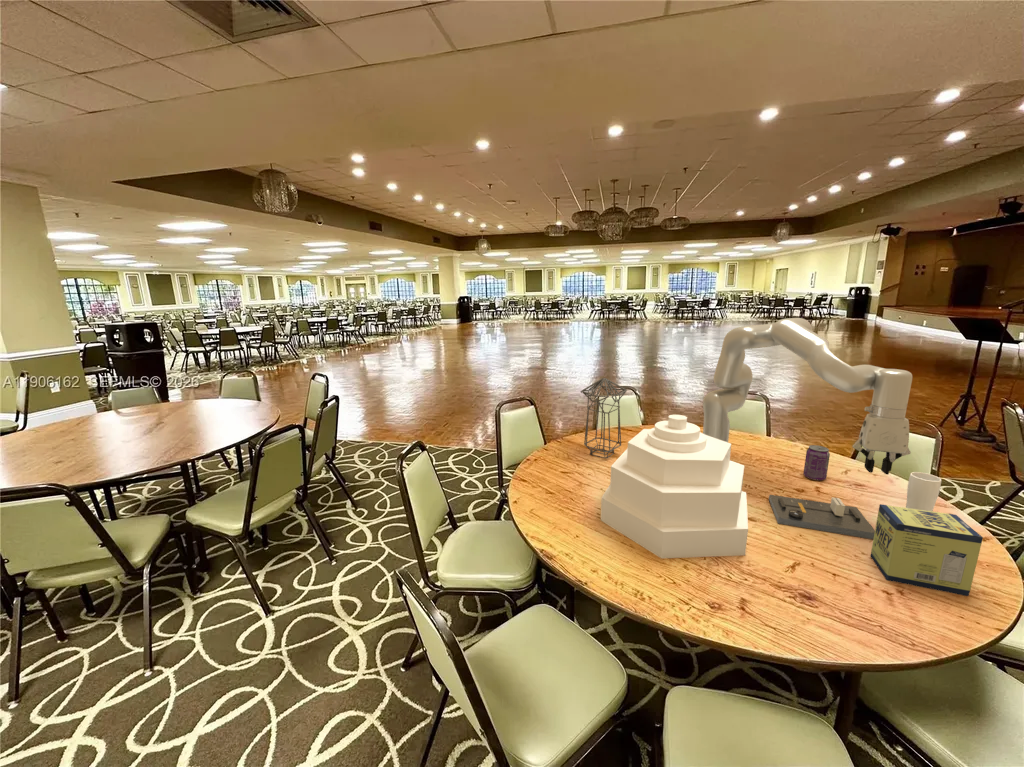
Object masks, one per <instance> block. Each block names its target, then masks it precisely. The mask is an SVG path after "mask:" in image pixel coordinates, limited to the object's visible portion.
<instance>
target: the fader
mask: <svg viewBox="0 0 1024 767" xmlns="http://www.w3.org/2000/svg"><path fill="white" fill-rule="evenodd" d="M830 503H831V505H830V508H831V509H832V511H833V512H834V514H835V515H838V516H843V515H844V509H845V506H846V505H845V503H843V501H842V499H841V498H840V497H839V498H838V497H831V501H830Z"/></svg>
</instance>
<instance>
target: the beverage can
mask: <svg viewBox="0 0 1024 767" xmlns="http://www.w3.org/2000/svg"><path fill="white" fill-rule="evenodd" d="M805 453H806V454H805V458H804V459H805V460H804V467H803V468H804V469H803V475H804V477H805V478H808V479H810V480H813V481H823V480H824V481H825V480H826V479H827V476H828V471H829V470H828V469H829V462H830V457H831V454H830V449H829V448H828V447H825V446H822V445H818V444H817V445H815V444H813V445H812V444H811V445H808V448H807V449H806V452H805Z"/></svg>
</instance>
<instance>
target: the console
mask: <svg viewBox="0 0 1024 767" xmlns="http://www.w3.org/2000/svg"><path fill="white" fill-rule="evenodd" d="M768 502H769V505H770V507H771V509H772V512H773V514H774V517H775V520H776V521H777V524H778V525H784V526H791V527H797V528H803V529H809V530H816V531H821V532H828V533H833V534H837V535H845V536H850V537H857V538H862V539H867V540H873V539H874V534H875V528H874V527H873V526H872V524H870V522H869V521H868V520H867V519H866V517H865V516H864V515H863V514H862V512H861V510H860V509H859V508H858V507H857V506H852V505H845V509H844V515H843V516H838V515H835V514H834V512H833V511H832V509H831V508H830V505H831V502H830V503H829V502H825V501H824V502H823V501H819V500H818V501H816V500H810V499H803V498H796V497H789V496H783V495H775V494H769V495H768Z"/></svg>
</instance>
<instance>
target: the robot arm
mask: <svg viewBox="0 0 1024 767" xmlns="http://www.w3.org/2000/svg"><path fill="white" fill-rule="evenodd" d="M775 346H782V347H784V348H786V349H788V350H789V351H790V352H792V353H793V354H795V355H796V356H798V357H799V358H801V359H803V360H804V362H806V363H807V364H808V366H809V367H810V369H811V370H812V371H813V372H814V374H816V375H817V376H818V377H819V378H820V379H822V380H824V381H825V382H826V383H828V384H829V385H832V386H833V387H834V388H836V389H838V390H839V391H842V392H844V393H851V394H852V393H858V392H862V391H869V390H873V394H872V399H871V404H870V405H869V406H865V407H864V408H863V409H864V412H868V413H867V414H866V416H865V417H864V420H863V423H862V425H861V429H860V433H859V436H858V439H857V440H856V441H855V443H854V444H852V448H853V449H855V450H857V451H858V452H860V453H861V454H863V455H864V457H865V461H864V468H865V470H866V471H867V472H868V473H873V472H874V468H875V462H876V461H875V459H874V455H875V453H876V452H883V453H885V457H883V459H882V461H881V462H882V463H881V467H880V471H881V472H882V473H883V474H884V475H889V473H890V472H891V471H892V467H893V463H895V462H896V460H899V458H901V457H905V456H908V455H911V453H912V452H911V450H910V449H909V442H910V422H909V418H906V413H907V408H908V403H909V398H910V392H911V387H912V383H913V374H912V372H910V371H908V370H905V369H897V368H884V367H880V366H877V365H876V366H875V365H872V364H859V365H854V366H852V365H850V364H848V363H846V362H845V361H843V360H841V359H840V358H839V357H837V356H836V355H835V354H833V353H832V351H831V350H830V342H829V341H828V339H826V338H825V337H823V336H821V335H819V334H818V333H817V332H814V331H813V326H812V324H811V323H810V322H809V321H808V320H807V319H805V318H802V317H792V318H791V317H789V318H781V319H779V320H778V321H776V322H771V323H765V324H753V325H750V324H749V325H743V326H738V327H734V328H733V329H730V330H729V331H728V332H727V333H726V334H725V336H724V339H723V342H722V346H721V350H720V355H719V357H718V360H717V364H716V367H715V372H714V374H713V383H714V385H715V386H716V387H717V388H719V389H715V390H712V391H710V392H708V393H707V394H705V396H703V400H702V408H703V424H702V426H703V427H702V433H703V434H705V435H708V436H710V437H713V438H716V439H719V440H722V441H725V442H728V443H729V437H730V427H731V426H730V425H731V424H730V419H729V415H728V413H729V412H735V411H737V410H739V409H741V408H742V407H743V406H744V405H745V403H746V401H747V397H748V394H749V392H750V388H751V386H752V381H753V376H754V375H753V371H752V368H751V367H750V366H749V365H747V364H746V363H744V362H745V359H746V350H750V349H751V350H752V349H761V348H769V347H775Z"/></svg>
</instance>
